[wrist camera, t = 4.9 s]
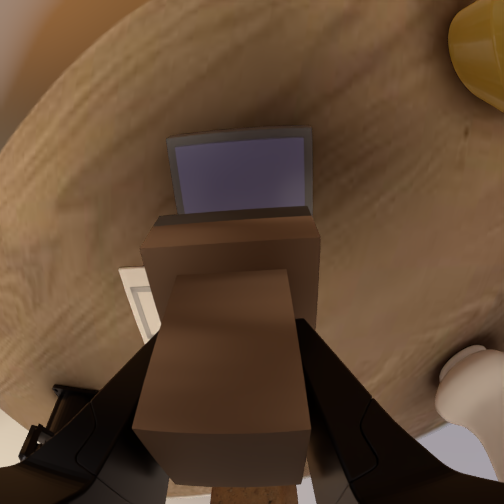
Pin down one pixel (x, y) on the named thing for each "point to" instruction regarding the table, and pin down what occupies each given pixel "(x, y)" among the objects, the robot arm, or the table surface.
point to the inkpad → (242, 168)
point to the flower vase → (476, 398)
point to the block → (254, 495)
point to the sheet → (141, 300)
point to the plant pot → (480, 49)
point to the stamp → (229, 346)
